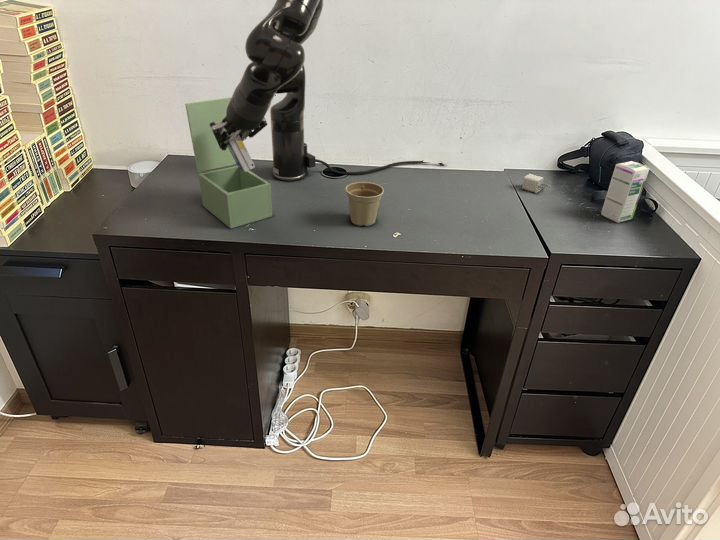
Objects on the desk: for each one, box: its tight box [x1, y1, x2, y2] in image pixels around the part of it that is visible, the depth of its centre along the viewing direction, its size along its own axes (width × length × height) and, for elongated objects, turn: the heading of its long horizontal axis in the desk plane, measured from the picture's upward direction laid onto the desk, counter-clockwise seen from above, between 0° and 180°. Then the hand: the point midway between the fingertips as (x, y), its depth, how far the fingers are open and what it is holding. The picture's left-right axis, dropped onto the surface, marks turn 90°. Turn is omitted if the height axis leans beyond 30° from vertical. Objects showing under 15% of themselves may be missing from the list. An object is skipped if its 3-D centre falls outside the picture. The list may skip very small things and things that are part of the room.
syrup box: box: [600, 160, 651, 224], centre depth 130 cm, size 6×6×14 cm
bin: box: [197, 165, 273, 229], centre depth 126 cm, size 16×12×9 cm
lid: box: [184, 97, 237, 173], centre depth 127 cm, size 16×12×6 cm
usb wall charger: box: [521, 173, 551, 194], centre depth 146 cm, size 4×7×4 cm, turn 49°
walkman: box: [217, 122, 256, 172], centre depth 119 cm, size 8×3×12 cm, turn 23°
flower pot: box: [344, 181, 385, 227], centre depth 124 cm, size 9×9×9 cm
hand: (228, 145), depth 119 cm, fingers closed on walkman, 3 cm apart
